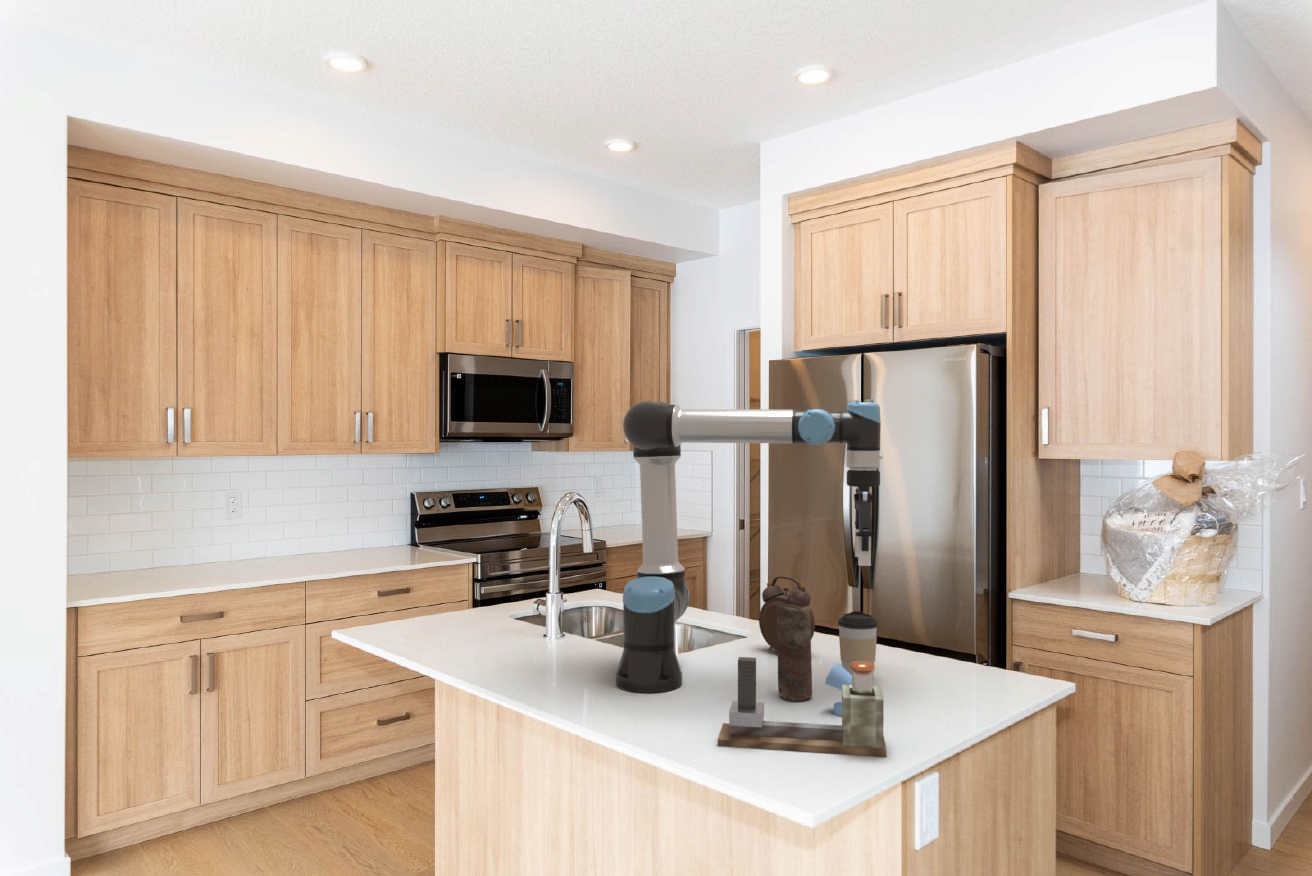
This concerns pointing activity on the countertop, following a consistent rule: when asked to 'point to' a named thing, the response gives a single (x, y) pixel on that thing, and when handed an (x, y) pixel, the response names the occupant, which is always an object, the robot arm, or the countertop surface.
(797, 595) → the alarm clock
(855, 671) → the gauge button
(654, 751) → the countertop surface
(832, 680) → the spotlight
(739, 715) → the carriage
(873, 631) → the coffee cup
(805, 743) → the rail
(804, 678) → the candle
